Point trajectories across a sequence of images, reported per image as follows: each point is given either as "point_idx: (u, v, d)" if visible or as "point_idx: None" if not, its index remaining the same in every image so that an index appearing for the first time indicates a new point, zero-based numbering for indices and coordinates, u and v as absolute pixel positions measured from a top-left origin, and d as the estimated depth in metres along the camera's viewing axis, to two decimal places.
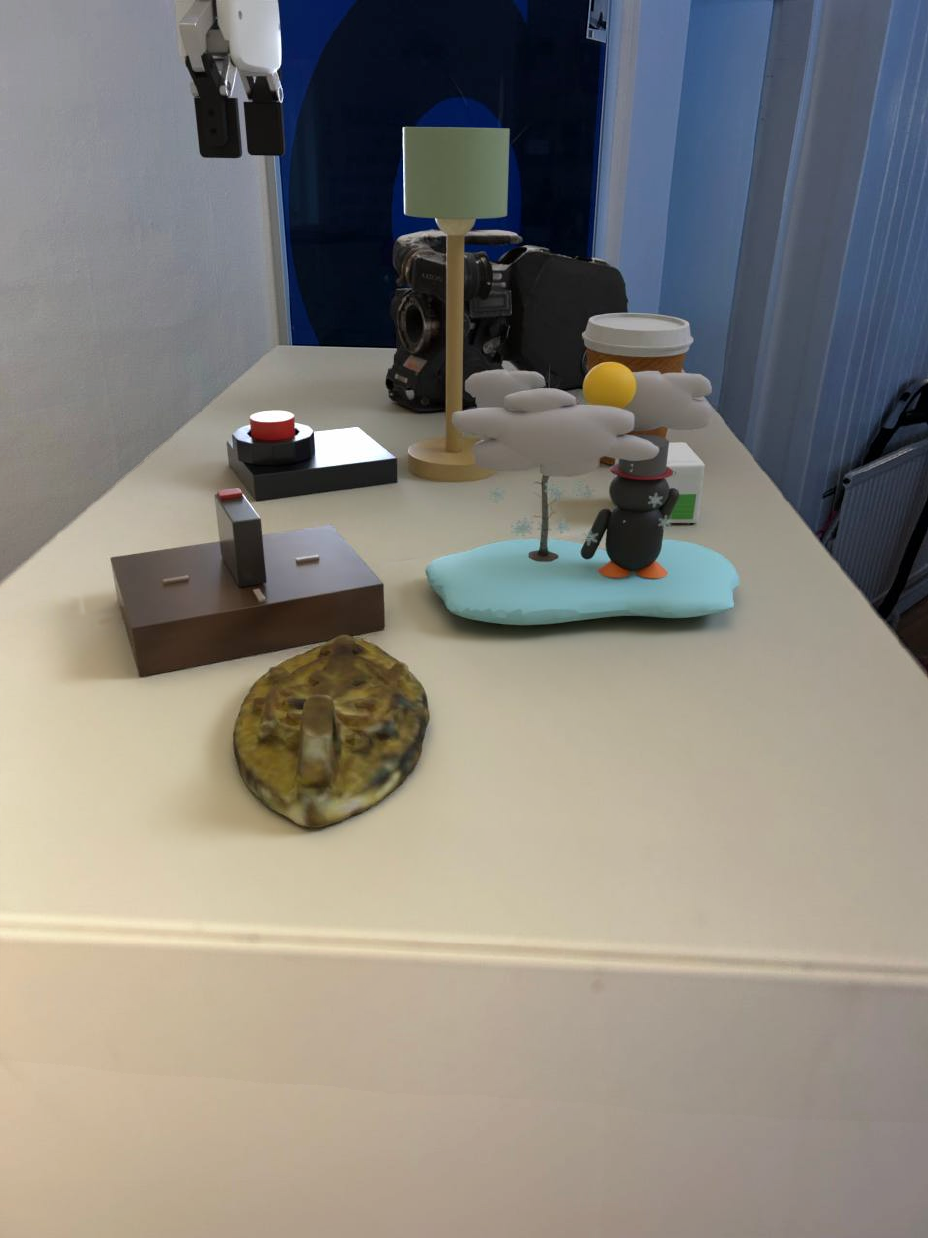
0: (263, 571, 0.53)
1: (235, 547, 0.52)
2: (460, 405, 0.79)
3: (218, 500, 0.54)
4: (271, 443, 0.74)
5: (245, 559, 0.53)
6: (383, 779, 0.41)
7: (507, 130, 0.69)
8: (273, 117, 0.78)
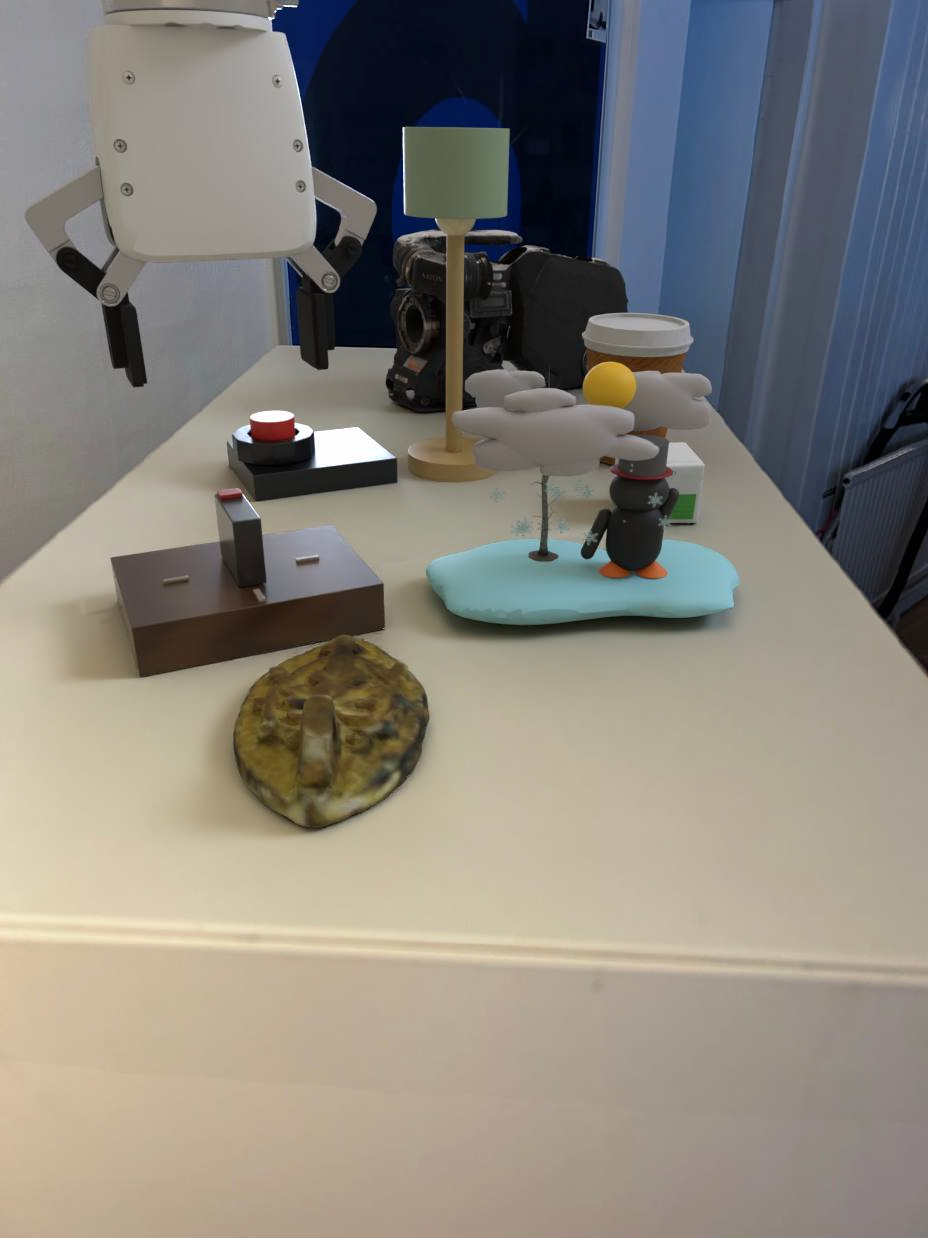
0: (263, 571, 0.53)
1: (235, 547, 0.52)
2: (460, 405, 0.79)
3: (218, 500, 0.54)
4: (271, 443, 0.74)
5: (245, 559, 0.53)
6: (383, 779, 0.41)
7: (507, 130, 0.69)
8: (309, 315, 0.50)
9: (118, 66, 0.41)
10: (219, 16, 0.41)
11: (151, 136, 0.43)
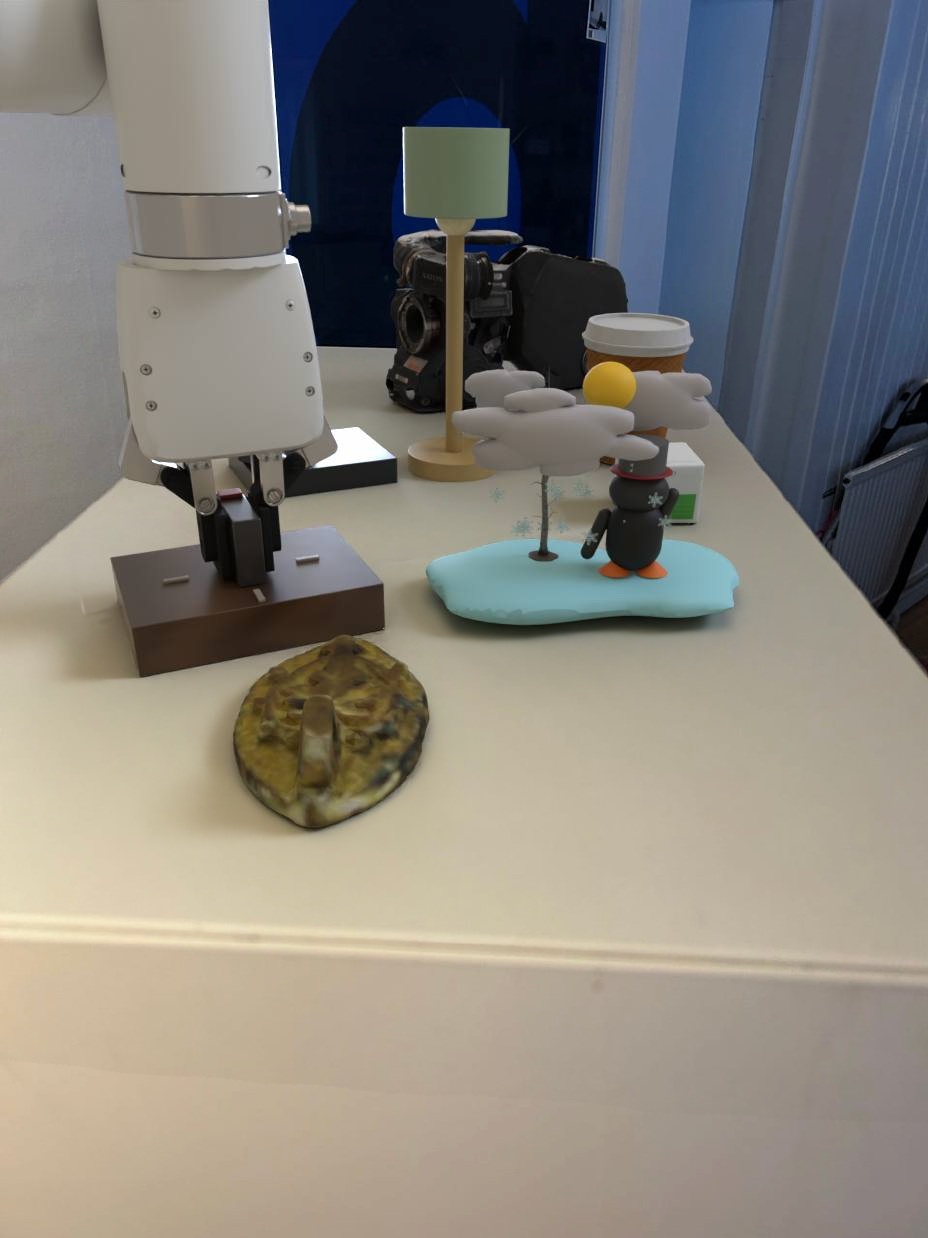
0: (263, 571, 0.53)
1: (235, 547, 0.52)
2: (460, 405, 0.79)
3: None
4: None
5: (245, 559, 0.53)
6: (383, 779, 0.41)
7: (507, 130, 0.69)
8: None
9: (145, 303, 0.45)
10: (238, 262, 0.45)
11: (174, 360, 0.47)
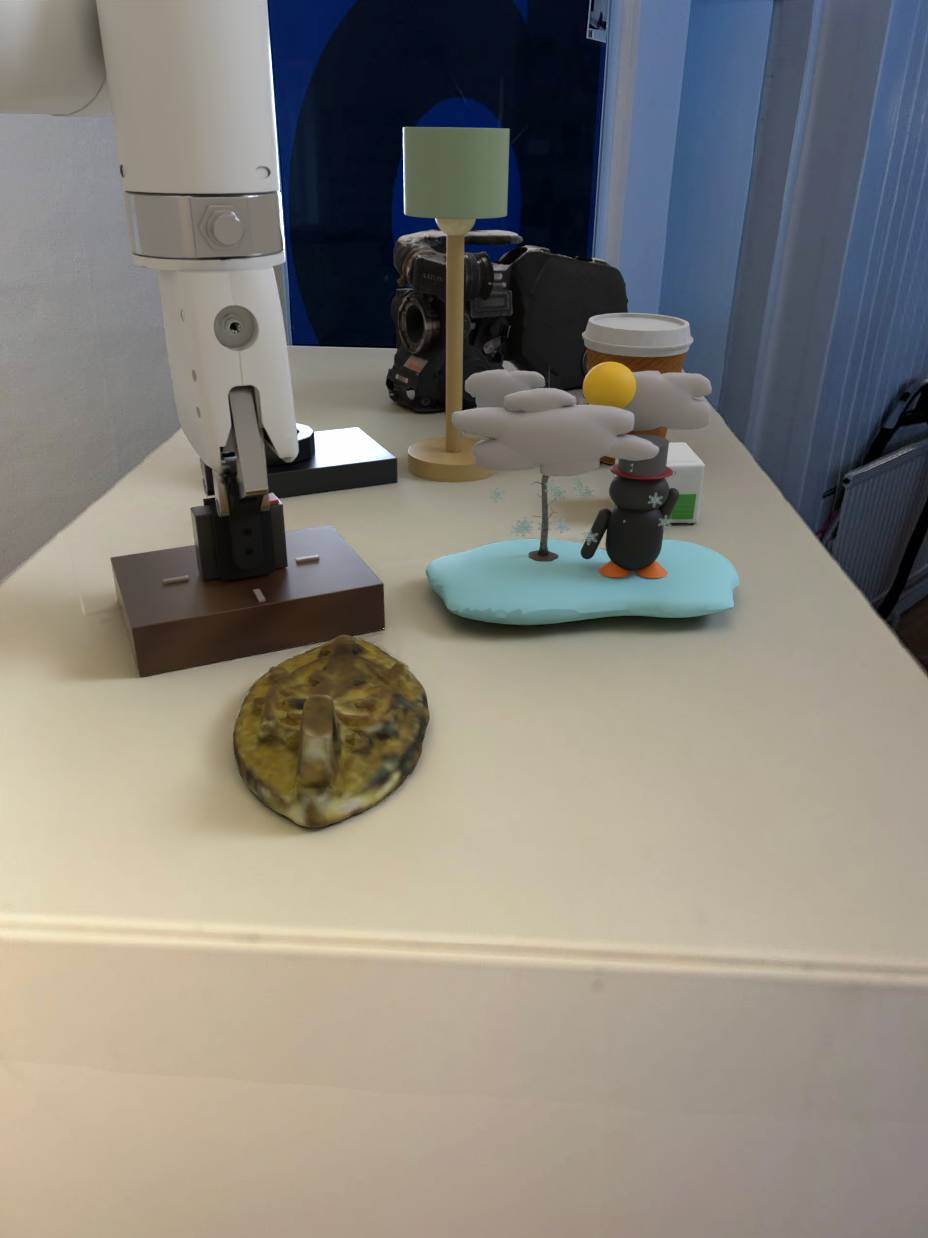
0: (201, 568, 0.54)
1: (194, 531, 0.54)
2: (460, 405, 0.79)
3: None
4: None
5: (196, 547, 0.54)
6: (383, 779, 0.41)
7: (507, 130, 0.69)
8: None
9: None
10: (135, 258, 0.46)
11: None
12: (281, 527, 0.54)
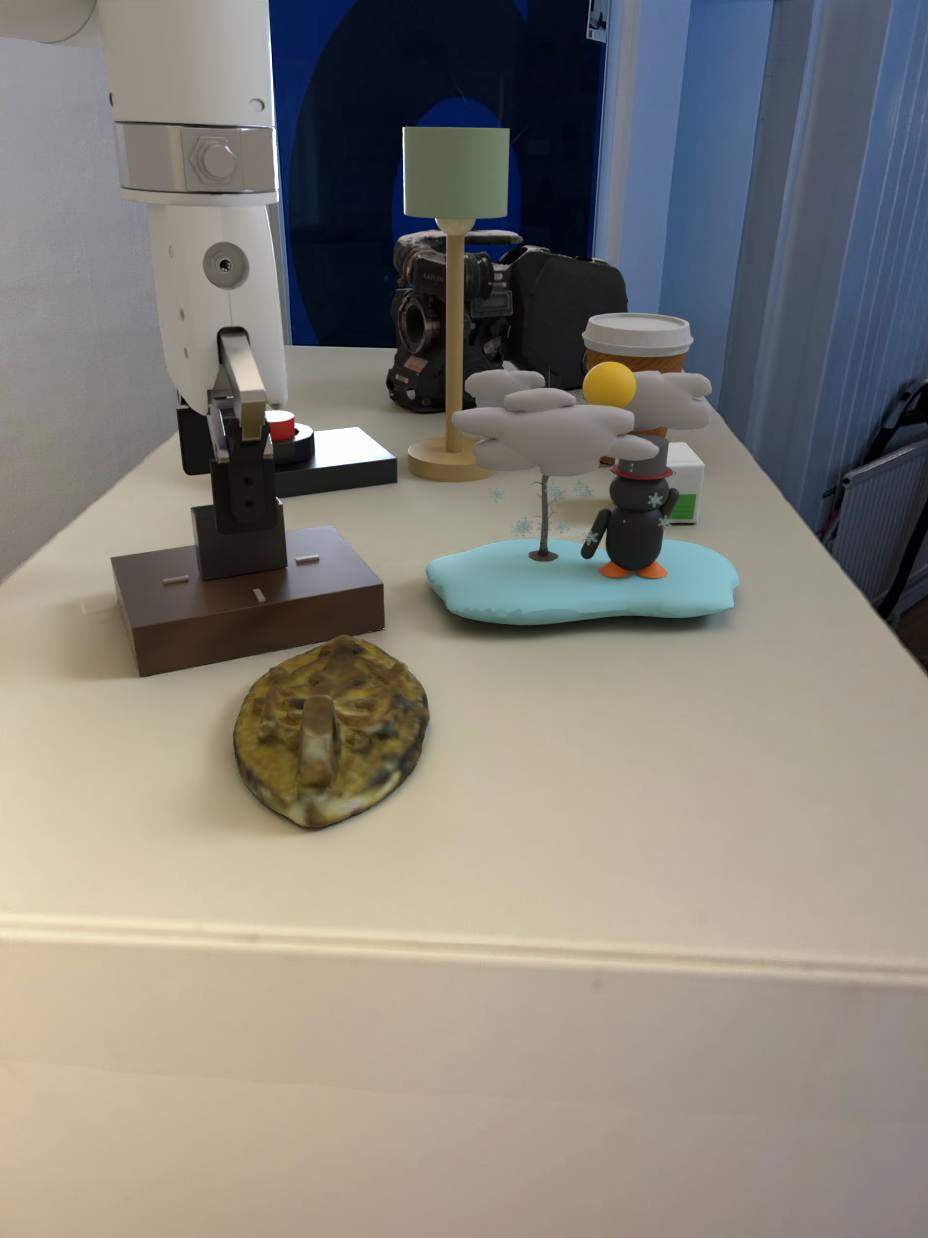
0: (201, 568, 0.54)
1: (194, 531, 0.54)
2: (460, 405, 0.79)
3: None
4: None
5: (196, 547, 0.54)
6: (383, 779, 0.41)
7: (507, 130, 0.69)
8: None
9: None
10: (123, 192, 0.44)
11: (154, 283, 0.50)
12: (281, 527, 0.54)
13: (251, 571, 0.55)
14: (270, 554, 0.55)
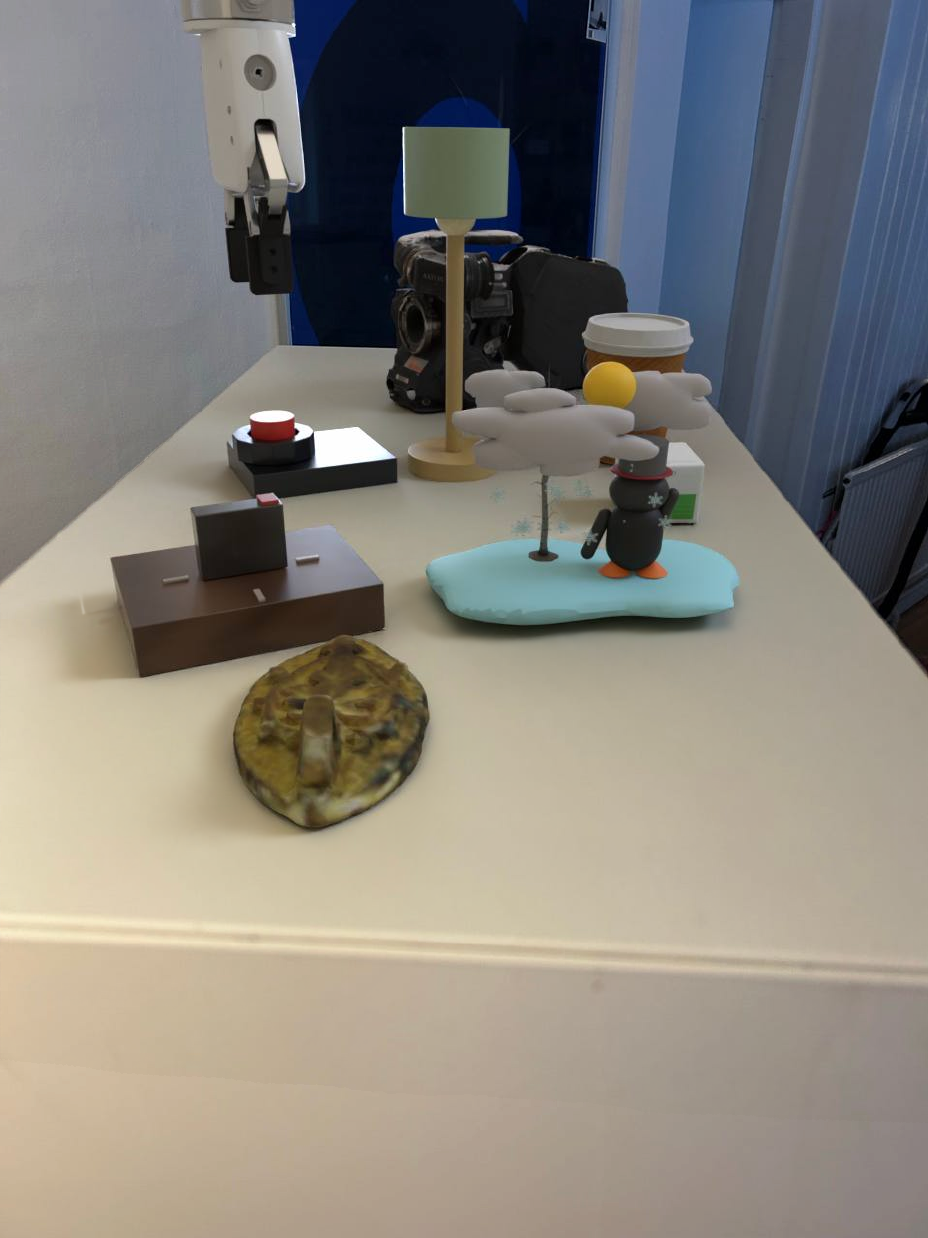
0: (201, 568, 0.54)
1: (194, 531, 0.54)
2: (460, 405, 0.79)
3: (257, 499, 0.55)
4: (271, 443, 0.74)
5: (196, 547, 0.54)
6: (383, 779, 0.41)
7: (507, 130, 0.69)
8: None
9: None
10: (186, 24, 0.62)
11: (205, 105, 0.68)
12: (281, 527, 0.54)
13: (251, 571, 0.55)
14: (270, 554, 0.55)
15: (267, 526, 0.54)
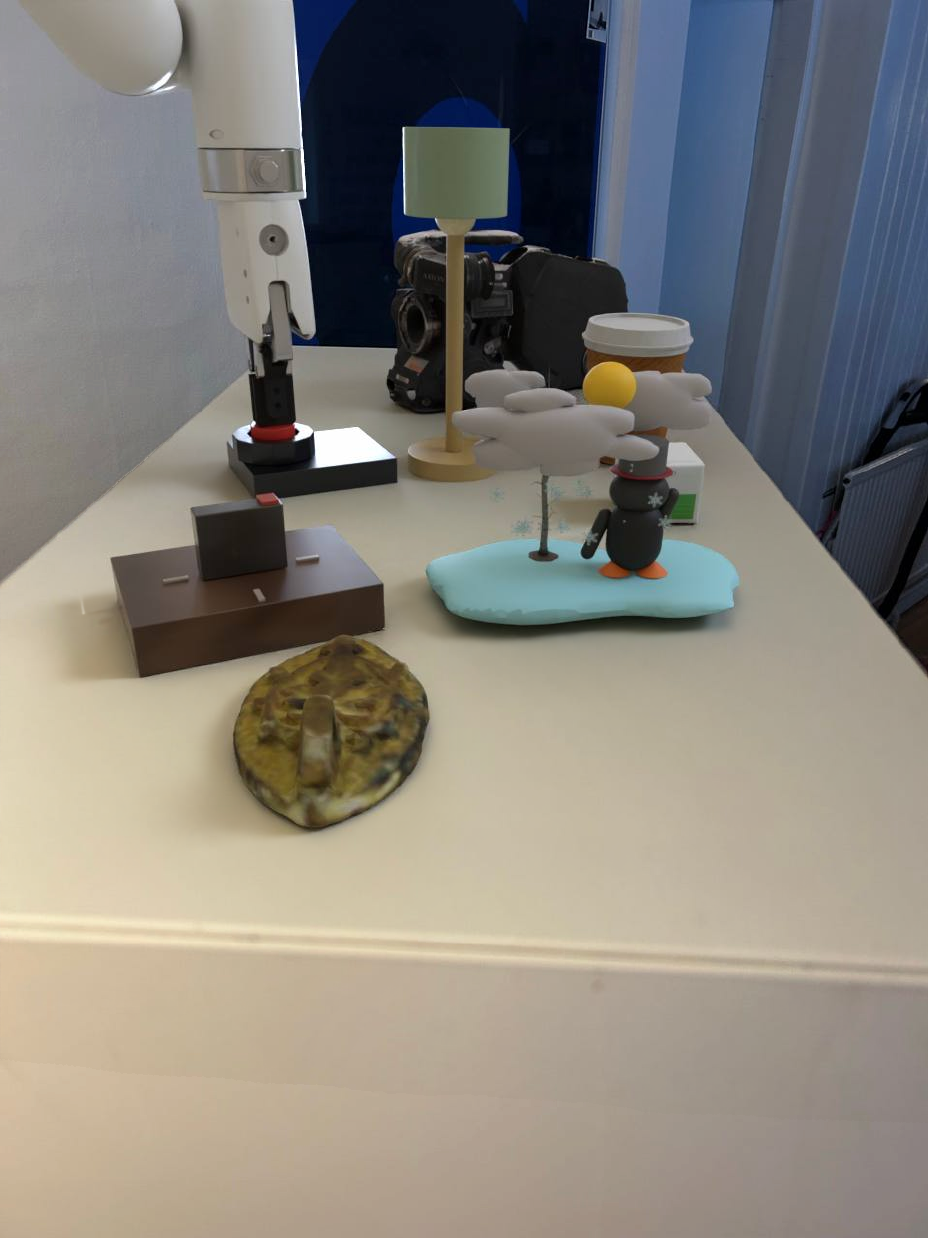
0: (201, 568, 0.54)
1: (194, 531, 0.54)
2: (460, 405, 0.79)
3: (257, 499, 0.55)
4: (271, 443, 0.74)
5: (196, 547, 0.54)
6: (383, 779, 0.41)
7: (507, 130, 0.69)
8: None
9: None
10: (205, 194, 0.67)
11: (221, 257, 0.72)
12: (281, 527, 0.54)
13: (251, 571, 0.55)
14: (270, 554, 0.55)
15: (267, 526, 0.54)
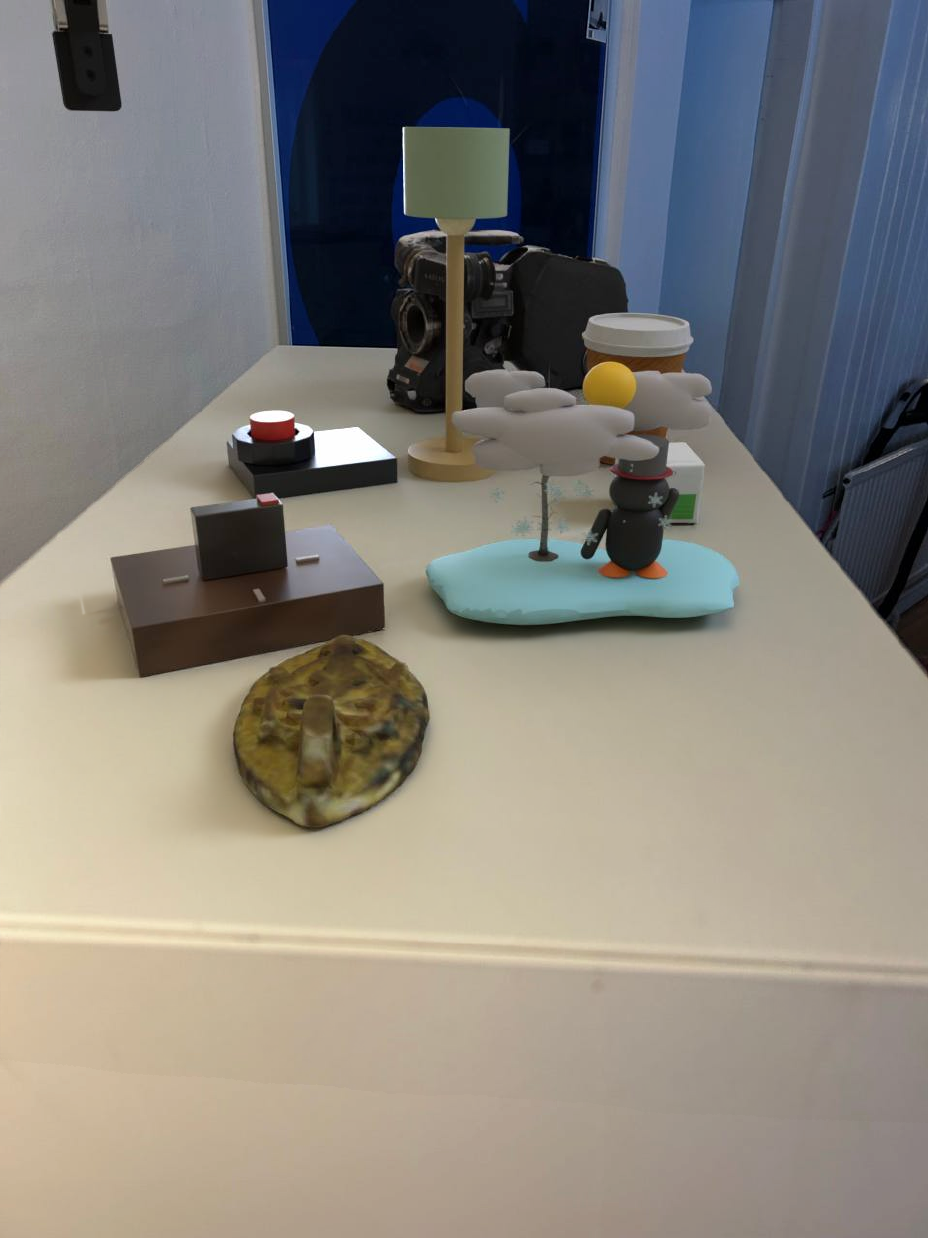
0: (201, 568, 0.54)
1: (194, 531, 0.54)
2: (460, 405, 0.79)
3: (257, 499, 0.55)
4: (271, 443, 0.74)
5: (196, 547, 0.54)
6: (383, 779, 0.41)
7: (507, 130, 0.69)
8: None
9: None
10: None
11: None
12: (281, 527, 0.54)
13: (251, 571, 0.55)
14: (270, 554, 0.55)
15: (267, 526, 0.54)
